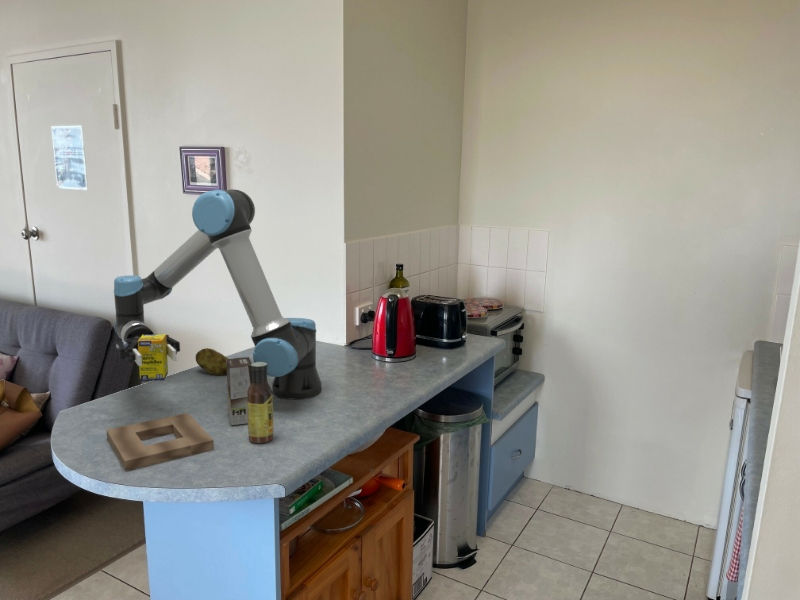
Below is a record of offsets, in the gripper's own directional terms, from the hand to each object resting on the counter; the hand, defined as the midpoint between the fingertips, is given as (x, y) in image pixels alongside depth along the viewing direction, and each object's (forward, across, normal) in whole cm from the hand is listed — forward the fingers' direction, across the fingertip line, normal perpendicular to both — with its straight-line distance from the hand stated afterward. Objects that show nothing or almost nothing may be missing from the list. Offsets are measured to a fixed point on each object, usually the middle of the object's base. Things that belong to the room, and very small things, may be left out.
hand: (157, 358), depth 150 cm
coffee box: (+2, -20, -20) cm, 29 cm away
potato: (-39, -26, -20) cm, 51 cm away
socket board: (+7, +2, -20) cm, 21 cm away
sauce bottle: (+17, -20, -20) cm, 33 cm away
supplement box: (-5, 0, -7) cm, 8 cm away
